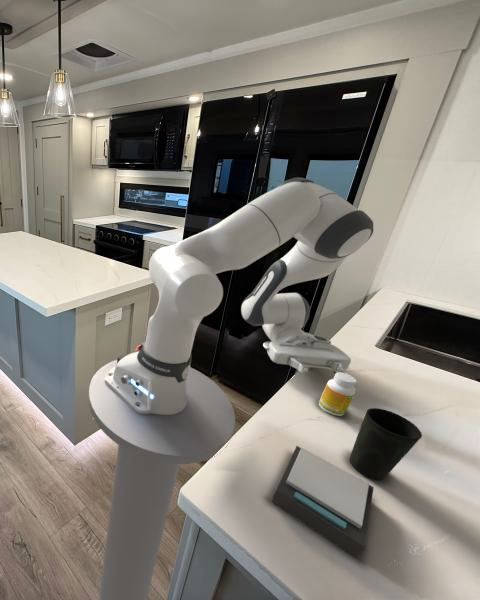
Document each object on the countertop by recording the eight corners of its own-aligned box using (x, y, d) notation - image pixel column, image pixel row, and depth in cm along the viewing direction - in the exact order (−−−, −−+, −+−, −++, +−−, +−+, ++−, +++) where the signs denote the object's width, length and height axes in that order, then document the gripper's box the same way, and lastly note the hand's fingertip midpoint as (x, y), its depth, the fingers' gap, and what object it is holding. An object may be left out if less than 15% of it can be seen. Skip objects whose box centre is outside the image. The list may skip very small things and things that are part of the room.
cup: (349, 445, 67) (372, 402, 62) (396, 471, 62) (425, 426, 57) (337, 463, 63) (361, 418, 58) (386, 492, 57) (417, 446, 53)
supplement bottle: (342, 420, 74) (358, 387, 70) (315, 407, 78) (329, 376, 74) (346, 409, 78) (362, 378, 74) (321, 398, 81) (334, 367, 77)
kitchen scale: (271, 501, 55) (277, 487, 53) (292, 455, 64) (297, 442, 63) (356, 558, 47) (366, 544, 46) (366, 498, 56) (375, 483, 55)
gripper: (263, 332, 94) (285, 358, 81) (334, 339, 92) (368, 366, 80) (257, 350, 97) (278, 377, 84) (326, 357, 95) (358, 386, 82)
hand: (323, 372), depth 82 cm, fingers open, 8 cm apart
